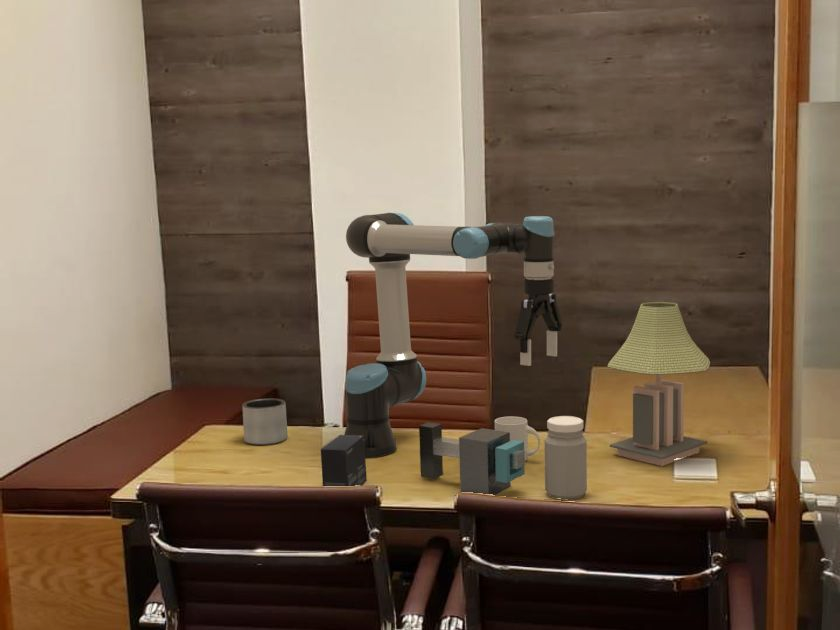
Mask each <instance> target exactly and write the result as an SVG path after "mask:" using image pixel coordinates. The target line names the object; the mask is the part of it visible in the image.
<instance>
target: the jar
mask: <svg viewBox="0 0 840 630" xmlns="http://www.w3.org/2000/svg"><path fill="white" fill-rule="evenodd" d="M546 426H547V427H546V429H548V431H547V432H546V433H547V436H546V438H545V439H544V441H543V443H544V490H545V492H546V493H547V494H548V495H549V497H551V498H553V499H556V498H561V499H560V500H562V499H572V500H577V499H580V498H582V497H583V496H584V495H585V494H586V492H587V491H588V490H587V489H588V485H587V484H588V481H587V480H588V477H587V476H588V475H587V474H588V470H587V469H588V468H587V467H588V466H587V465H588V463H587V461H588V460H587V459H588V456H587V455H588V454H587V453H588V452H587V451H588V450H587V439H586V437H585V436H584V431H583V429H584V420H583V419H582V418H580V417H577V416H572V415H559V416H553V417H550V418H549V419H548V420H546Z"/></svg>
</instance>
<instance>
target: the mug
mask: <svg viewBox="0 0 840 630" xmlns="http://www.w3.org/2000/svg"><path fill="white" fill-rule="evenodd" d="M494 430H497V431H504V432H510V441H512V440H517V441H523V442H524V450H525V462H526V461H528V457H530V456H534V455H535V454H537V453H538V451H540V450H539V449H540V446H541V438H540V435H539V433H538V431H536V430H535V429H534V428H533V427H532V426H529V425H528V420H527V418H525V417H521V416H503V417H502V416H501V417H498V418H496V419H494ZM529 434H532V435H534V436H535V437H536V439H537V441H538V445H537V447H536V448H535V449H531V448H528V447H529V444H528V435H529Z"/></svg>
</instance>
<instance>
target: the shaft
mask: <svg viewBox="0 0 840 630" xmlns="http://www.w3.org/2000/svg"><path fill="white" fill-rule="evenodd" d="M442 428H443V427H442V423H439V422H438V423H437V422H431V421H427V422H425V423H421V424H420V425H418V430H419V431H418V433H419V434H418V437H419V440H418V441H419V468H420V477H421V478H424V479H429V480H436V479H437V478H440V477H443V475H444V467H443V462H444V461H443V457H447V458H453V459H457V460H460V458H459V438H452V437H445V436H442V435H443V431H442V430H443V429H442ZM497 447H498V446H497ZM495 448H496V447H494V448H493V458H494V465H496V461H495ZM522 466H524V467H525V466H526V461H525V450H517V451H515V452H513V453H511V454H510V468H513V469H518V468H520V467H522Z"/></svg>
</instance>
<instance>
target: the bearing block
mask: <svg viewBox="0 0 840 630" xmlns="http://www.w3.org/2000/svg"><path fill="white" fill-rule="evenodd" d="M458 440H459V458H460V459H459V490H460V491H459V492H473V493H483V494H493V495H494V496H495V495H498V494H500V493H501V492H503V491H505V490H507V489H509V488H511V487H512V481H510V482H508V483H504V482H499V481H496V465H494V458H493V448H494V447H497V446H501V445H503V444H505V443H507V442H510V432H504V431H497V430H495V429H490V428H483V427H481V428H479V429H477V430H473V431H471V432H469V433H467V434H464V435H461V436H460V437H458Z"/></svg>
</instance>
